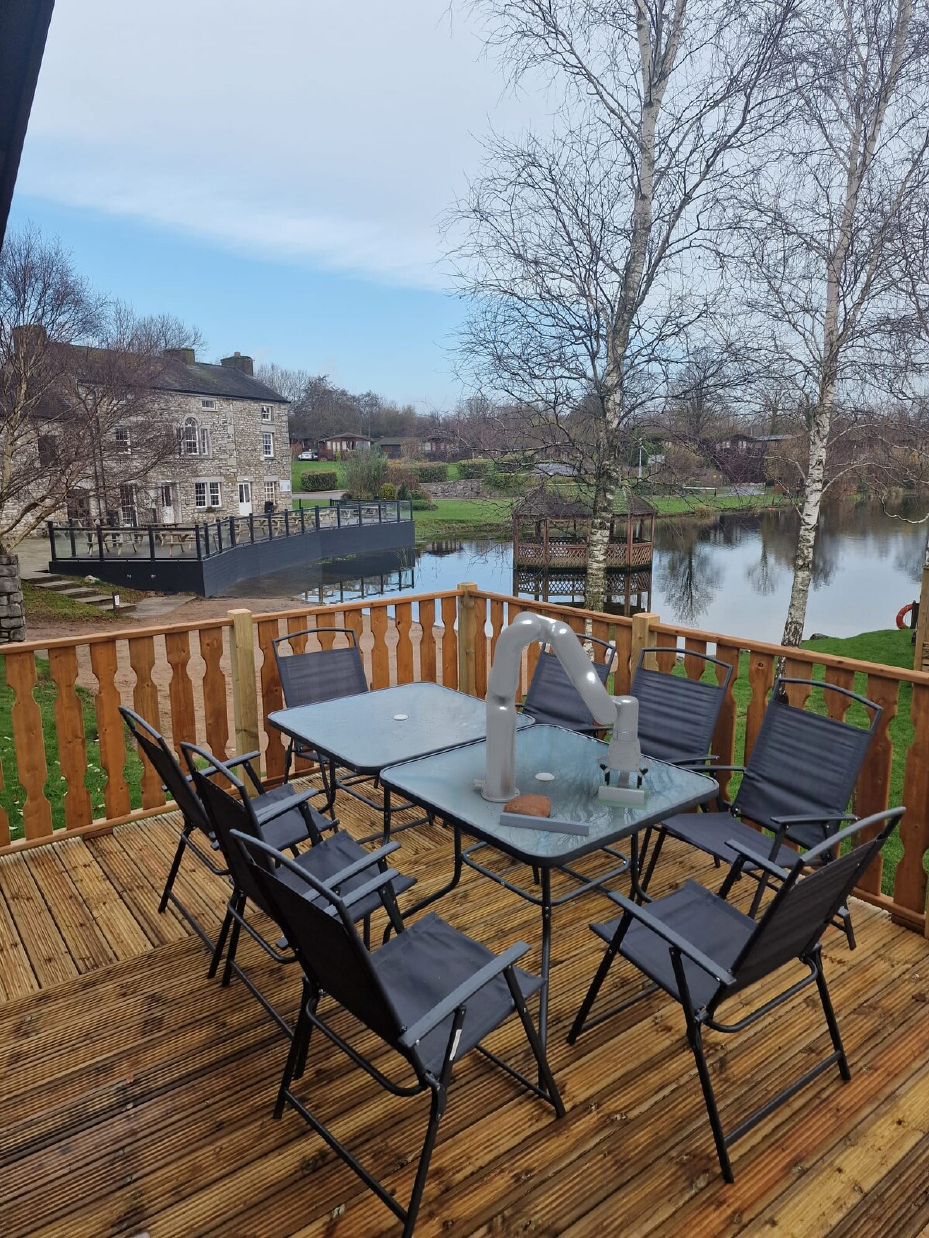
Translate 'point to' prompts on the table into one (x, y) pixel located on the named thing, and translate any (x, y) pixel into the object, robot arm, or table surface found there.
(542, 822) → the board
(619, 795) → the scraper
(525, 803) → the ceramic shard
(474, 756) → the table surface
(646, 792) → the mat
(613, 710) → the robot arm
